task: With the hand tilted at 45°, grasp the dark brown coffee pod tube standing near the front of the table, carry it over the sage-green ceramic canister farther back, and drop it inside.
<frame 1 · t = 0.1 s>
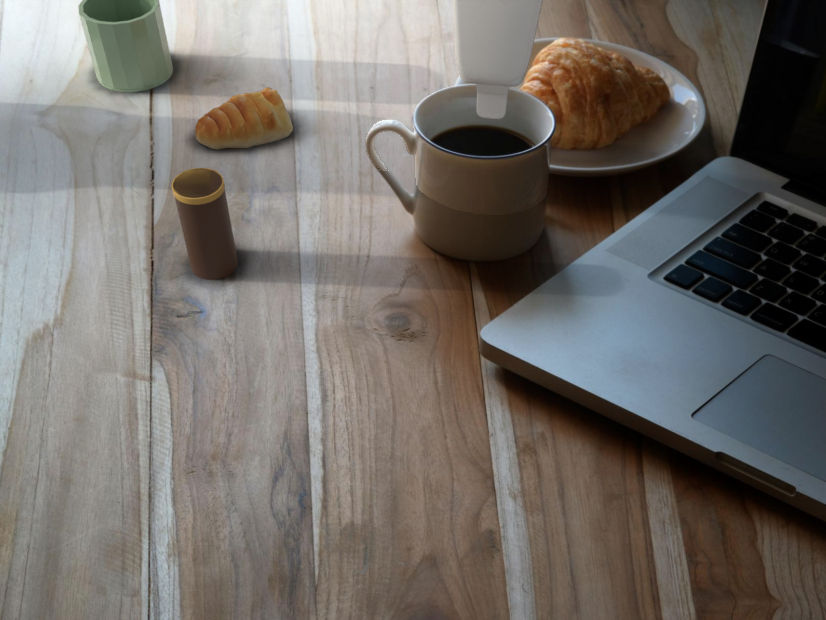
hand: (496, 72, 61), 23 cm above the table, tool pointing down, fingers open, 8 cm apart
pastry: (250, 135, 95), on the table
canister: (135, 74, 102), on the table
pod tube: (215, 266, 81), on the table
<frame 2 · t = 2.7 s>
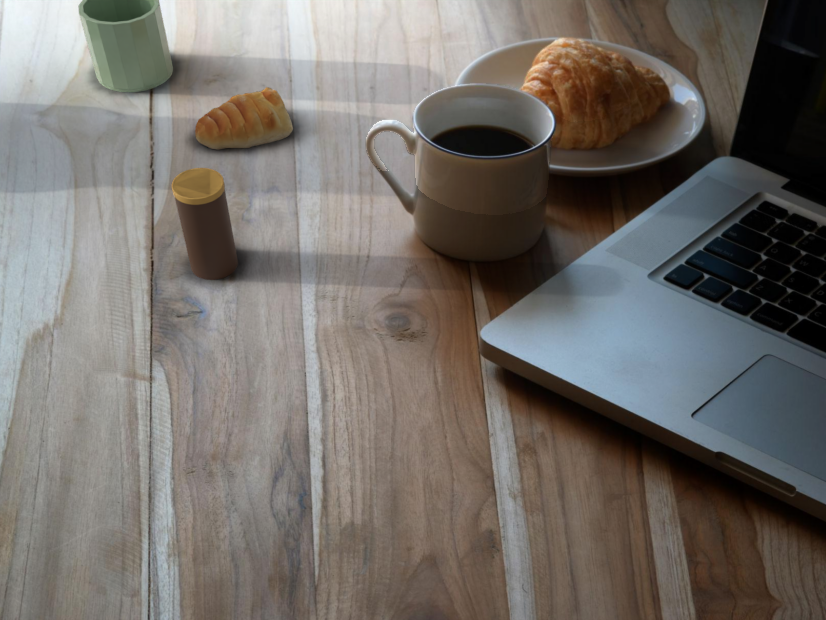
nothing on the table moved.
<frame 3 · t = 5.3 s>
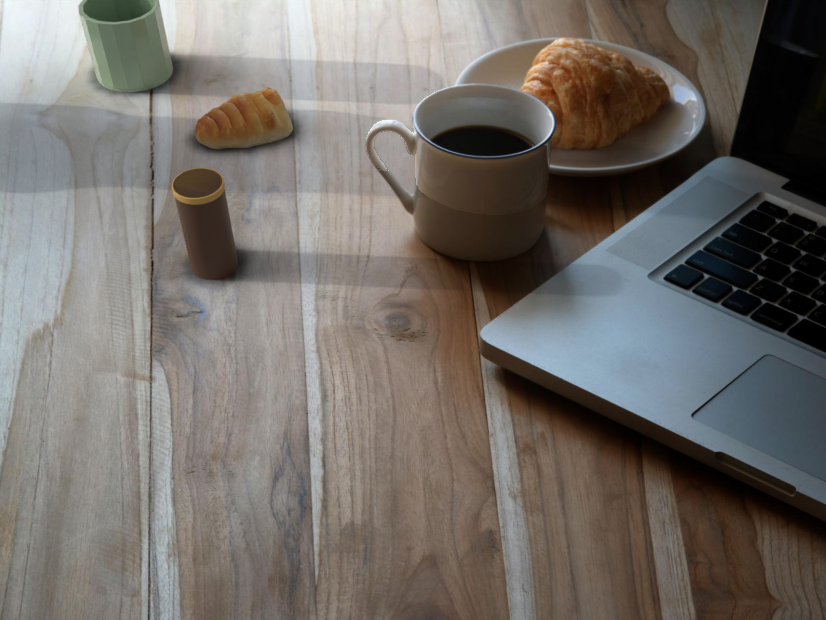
nothing on the table moved.
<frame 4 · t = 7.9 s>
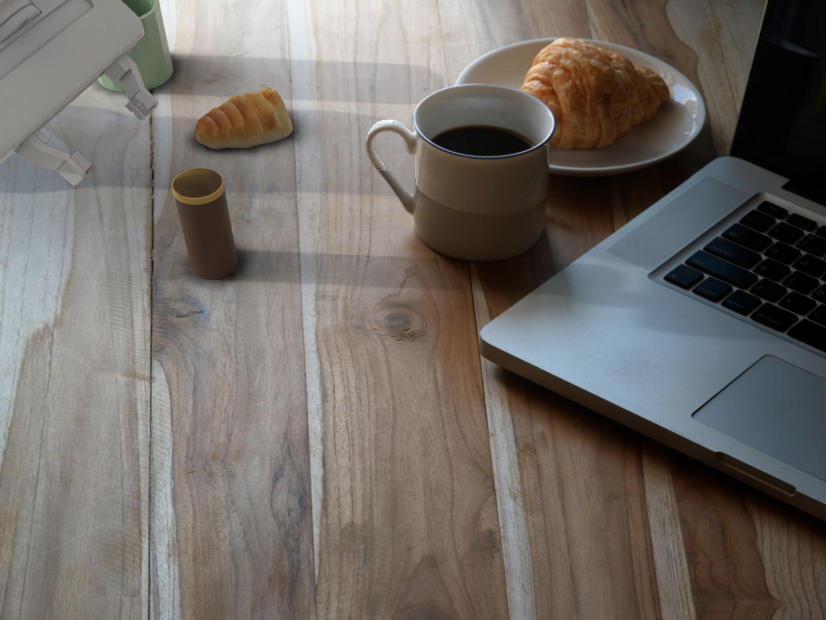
hand: (119, 143, 74), 11 cm above the table, tool tilted 45°, fingers open, 8 cm apart
nothing on the table moved.
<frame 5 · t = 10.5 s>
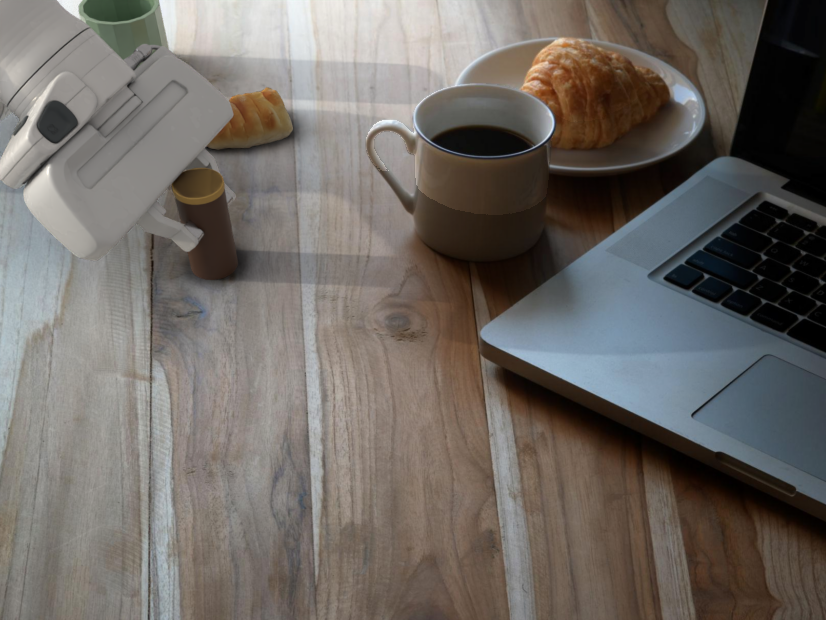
hand: (212, 224, 77), 5 cm above the table, tool tilted 45°, fingers closed on pod tube, 4 cm apart
pod tube: (215, 266, 81), on the table, touching gripper
everything else where it was.
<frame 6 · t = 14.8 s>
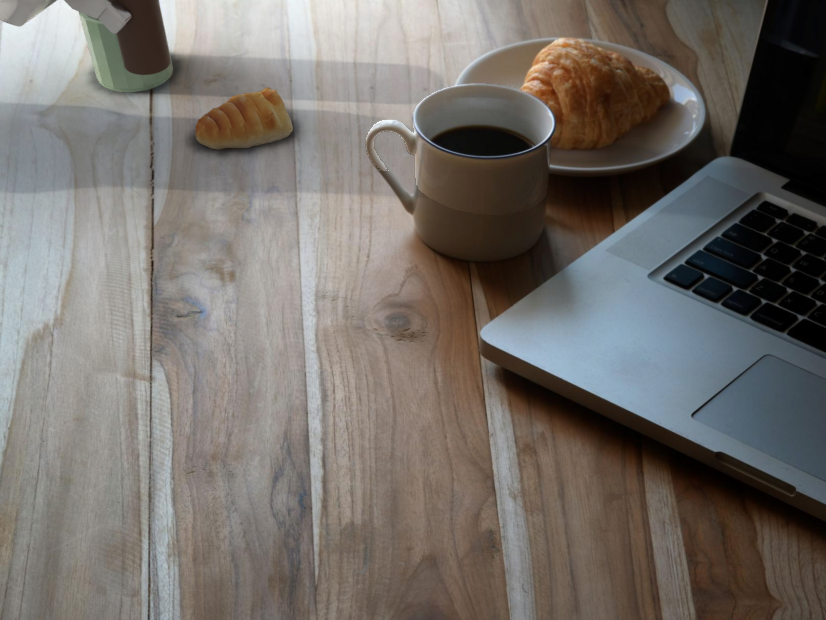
hand: (142, 12, 78), 16 cm above the table, tool tilted 45°, fingers closed on pod tube, 4 cm apart
pod tube: (147, 63, 82), point 11 cm above the table, touching gripper
everything else where it was.
when the fingers open (10 cm above the table, at t = 19.4 s): pod tube drops 4 cm, resting on canister.
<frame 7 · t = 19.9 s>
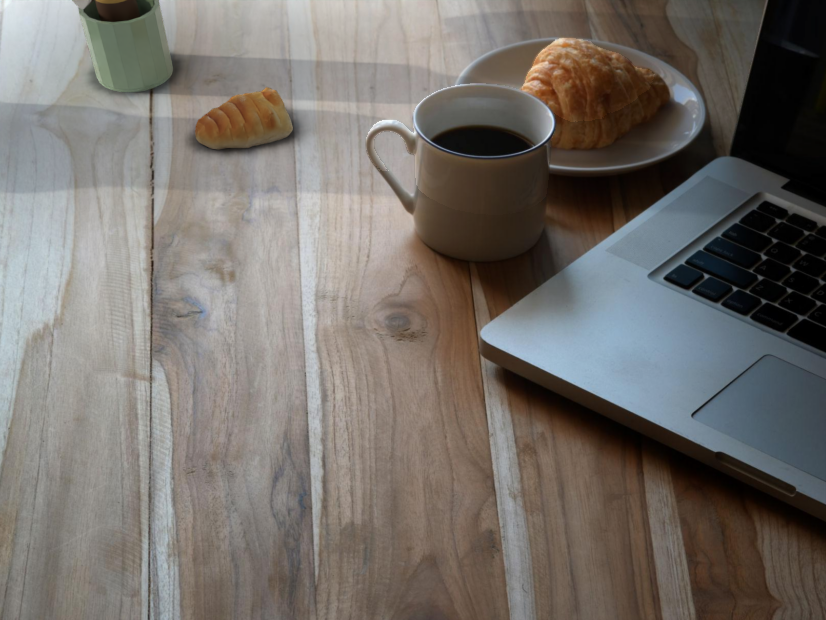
pod tube: (134, 69, 101), point 1 cm above the table, touching canister
everything else where it was.
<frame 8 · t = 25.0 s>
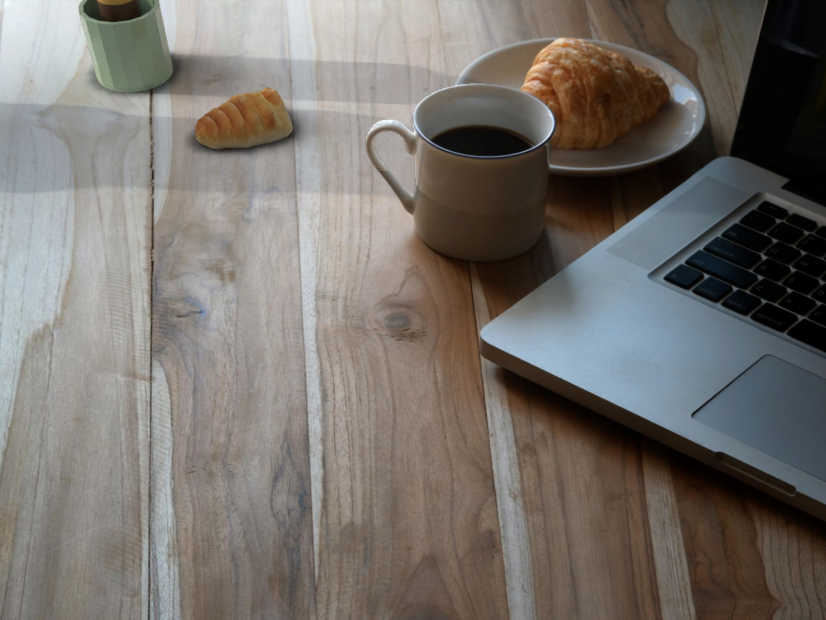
nothing on the table moved.
at the end: pod tube 0.0 cm off-centre in the canister, point 0.6 cm above the canister's base; the gripper is holding nothing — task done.
